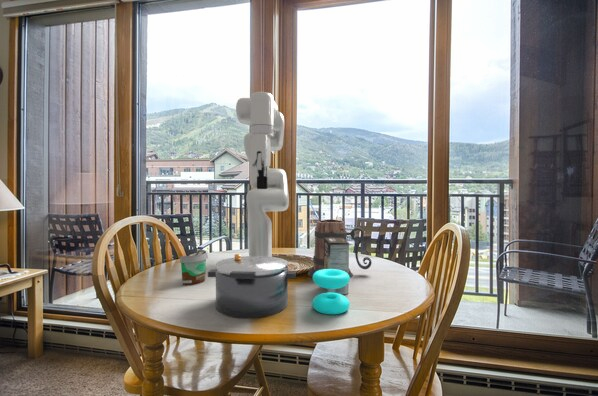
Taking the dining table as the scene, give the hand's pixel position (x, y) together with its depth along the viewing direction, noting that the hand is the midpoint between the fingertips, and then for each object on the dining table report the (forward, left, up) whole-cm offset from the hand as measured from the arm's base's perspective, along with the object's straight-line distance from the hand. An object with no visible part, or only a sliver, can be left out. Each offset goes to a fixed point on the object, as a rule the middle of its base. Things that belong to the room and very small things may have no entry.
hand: (262, 188), depth 107 cm
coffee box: (+2, +24, -32) cm, 40 cm away
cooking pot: (+16, 0, -32) cm, 36 cm away
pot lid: (+17, 0, -22) cm, 28 cm away
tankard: (-16, +26, -32) cm, 45 cm away
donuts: (+18, +22, -32) cm, 43 cm away
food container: (-3, -23, -32) cm, 40 cm away
